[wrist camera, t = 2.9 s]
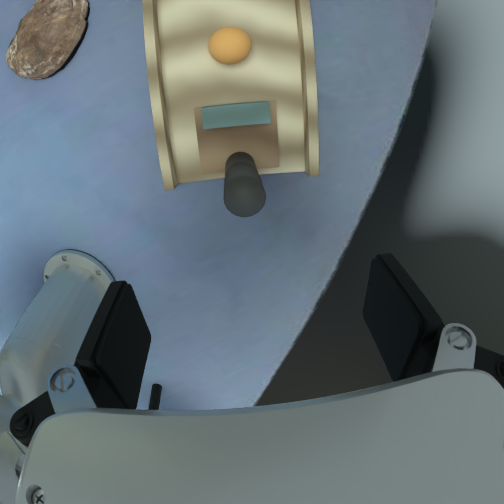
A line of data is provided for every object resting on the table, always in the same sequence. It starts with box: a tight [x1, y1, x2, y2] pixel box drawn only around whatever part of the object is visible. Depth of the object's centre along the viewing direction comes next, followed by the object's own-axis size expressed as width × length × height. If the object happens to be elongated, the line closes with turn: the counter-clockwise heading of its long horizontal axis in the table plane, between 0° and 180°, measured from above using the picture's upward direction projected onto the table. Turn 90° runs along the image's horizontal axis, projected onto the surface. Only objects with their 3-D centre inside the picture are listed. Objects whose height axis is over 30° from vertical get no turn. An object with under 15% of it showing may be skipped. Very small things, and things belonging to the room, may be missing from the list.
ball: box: [208, 27, 251, 65], centre depth 22 cm, size 4×4×4 cm
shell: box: [6, 0, 90, 80], centre depth 19 cm, size 12×13×4 cm
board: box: [143, 0, 319, 191], centre depth 21 cm, size 30×16×8 cm, turn 4°
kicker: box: [194, 100, 279, 217], centre depth 24 cm, size 8×8×11 cm
